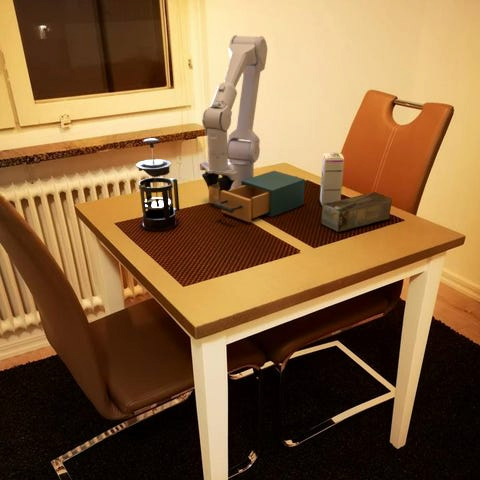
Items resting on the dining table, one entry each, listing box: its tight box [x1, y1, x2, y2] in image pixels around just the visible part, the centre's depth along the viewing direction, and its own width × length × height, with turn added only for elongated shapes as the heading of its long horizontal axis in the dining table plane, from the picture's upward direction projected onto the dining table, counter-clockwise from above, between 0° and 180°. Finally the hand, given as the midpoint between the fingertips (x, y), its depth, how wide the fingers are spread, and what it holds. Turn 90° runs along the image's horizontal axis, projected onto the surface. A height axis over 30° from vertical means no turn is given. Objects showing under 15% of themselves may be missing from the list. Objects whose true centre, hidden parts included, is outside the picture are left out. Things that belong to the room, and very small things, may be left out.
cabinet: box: [241, 170, 306, 218], centre depth 148 cm, size 14×12×8 cm
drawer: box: [212, 185, 270, 223], centre depth 141 cm, size 18×11×6 cm, turn 134°
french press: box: [136, 138, 180, 232], centre depth 132 cm, size 12×9×23 cm
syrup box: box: [319, 152, 345, 207], centre depth 148 cm, size 6×6×14 cm
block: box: [208, 183, 221, 205], centre depth 149 cm, size 4×4×5 cm
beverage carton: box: [321, 191, 393, 233], centre depth 137 cm, size 8×19×7 cm, turn 119°
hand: (219, 198), depth 150 cm, fingers closed on block, 4 cm apart
